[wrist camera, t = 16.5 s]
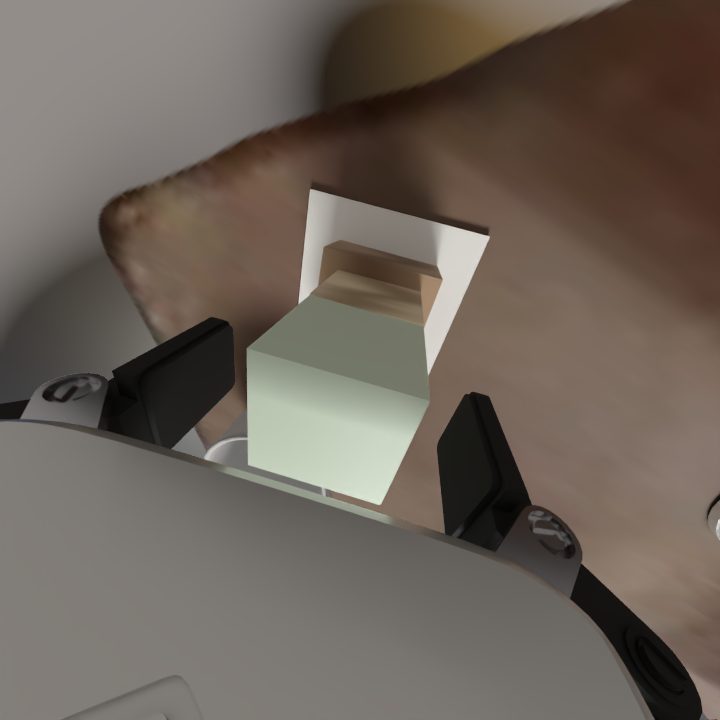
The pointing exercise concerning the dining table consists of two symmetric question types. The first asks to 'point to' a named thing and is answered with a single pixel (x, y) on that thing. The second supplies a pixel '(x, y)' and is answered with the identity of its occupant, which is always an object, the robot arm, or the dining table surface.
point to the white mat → (395, 251)
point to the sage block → (336, 397)
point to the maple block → (372, 296)
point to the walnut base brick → (382, 269)
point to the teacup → (235, 455)
